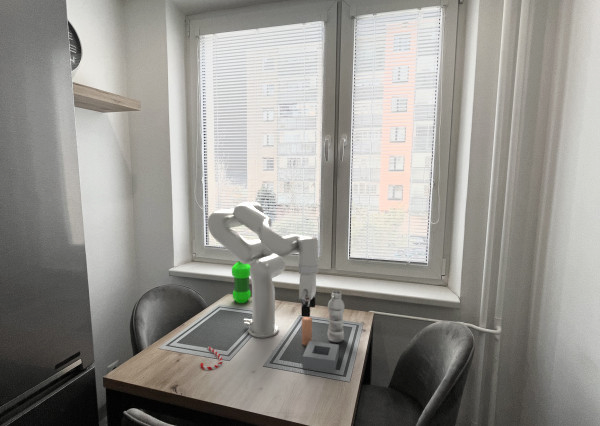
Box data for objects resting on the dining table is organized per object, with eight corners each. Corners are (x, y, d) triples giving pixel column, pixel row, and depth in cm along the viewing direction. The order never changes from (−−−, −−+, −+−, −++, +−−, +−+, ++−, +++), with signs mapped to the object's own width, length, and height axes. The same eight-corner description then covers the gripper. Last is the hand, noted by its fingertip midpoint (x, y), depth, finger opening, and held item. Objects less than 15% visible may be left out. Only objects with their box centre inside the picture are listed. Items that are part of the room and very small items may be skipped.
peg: (300, 344, 127) (300, 320, 126) (302, 340, 131) (303, 316, 130) (310, 346, 126) (310, 321, 125) (312, 341, 130) (313, 317, 129)
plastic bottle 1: (234, 297, 177) (234, 252, 174) (253, 298, 176) (253, 253, 173) (229, 304, 167) (228, 256, 165) (249, 305, 166) (249, 257, 164)
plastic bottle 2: (343, 345, 127) (344, 296, 125) (326, 343, 128) (327, 294, 126) (344, 337, 133) (345, 290, 131) (328, 336, 134) (329, 289, 132)
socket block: (302, 368, 111) (302, 356, 110) (309, 352, 121) (309, 340, 121) (334, 373, 108) (334, 360, 108) (338, 356, 119) (338, 344, 118)
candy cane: (217, 344, 125) (224, 364, 111) (217, 347, 125) (224, 368, 111) (196, 348, 122) (201, 369, 108) (196, 351, 122) (201, 373, 108)
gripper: (304, 262, 135) (304, 302, 136) (293, 274, 118) (293, 319, 119) (321, 263, 133) (321, 304, 134) (313, 275, 116) (313, 321, 117)
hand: (308, 311), depth 127 cm, fingers open, 9 cm apart
